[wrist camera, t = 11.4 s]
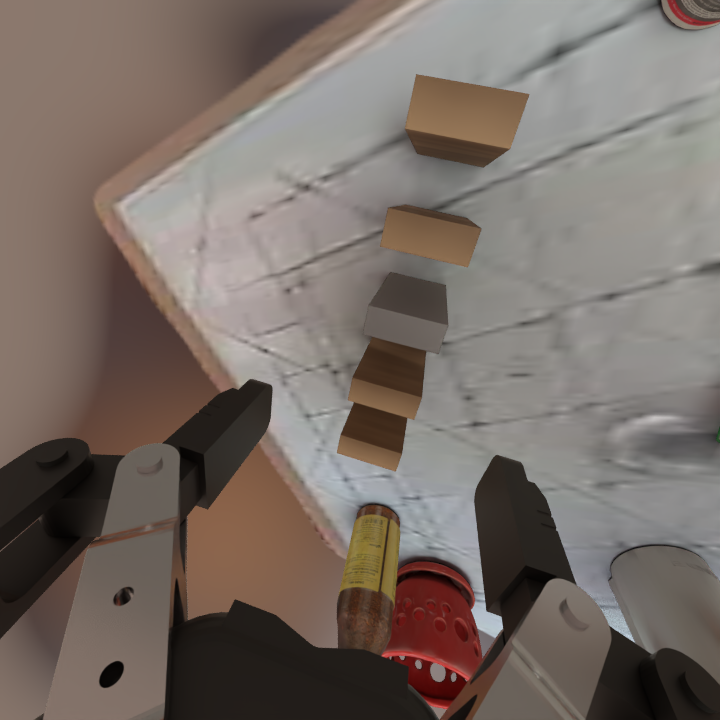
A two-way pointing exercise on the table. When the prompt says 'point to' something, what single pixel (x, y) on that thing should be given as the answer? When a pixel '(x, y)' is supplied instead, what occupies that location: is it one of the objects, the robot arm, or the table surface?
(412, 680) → the plant pot
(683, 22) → the pill bottle
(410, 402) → the walnut domino
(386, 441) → the walnut domino
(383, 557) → the sauce bottle
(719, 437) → the stack of blocks
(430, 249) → the walnut domino
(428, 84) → the walnut domino
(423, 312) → the charcoal domino
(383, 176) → the table surface
